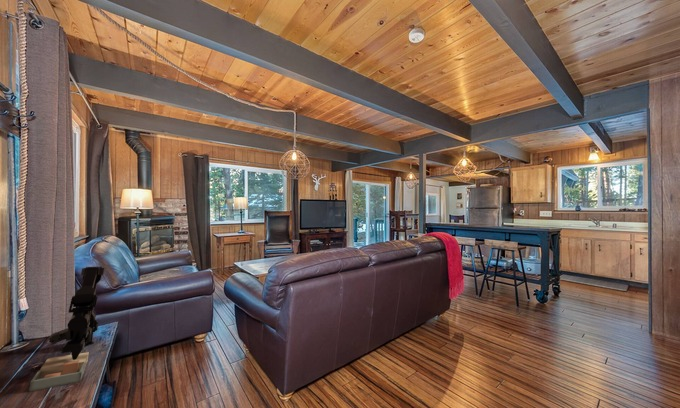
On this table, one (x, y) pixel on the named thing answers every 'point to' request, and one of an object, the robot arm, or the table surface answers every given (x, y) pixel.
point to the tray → (55, 380)
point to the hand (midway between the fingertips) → (74, 359)
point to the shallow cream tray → (61, 363)
